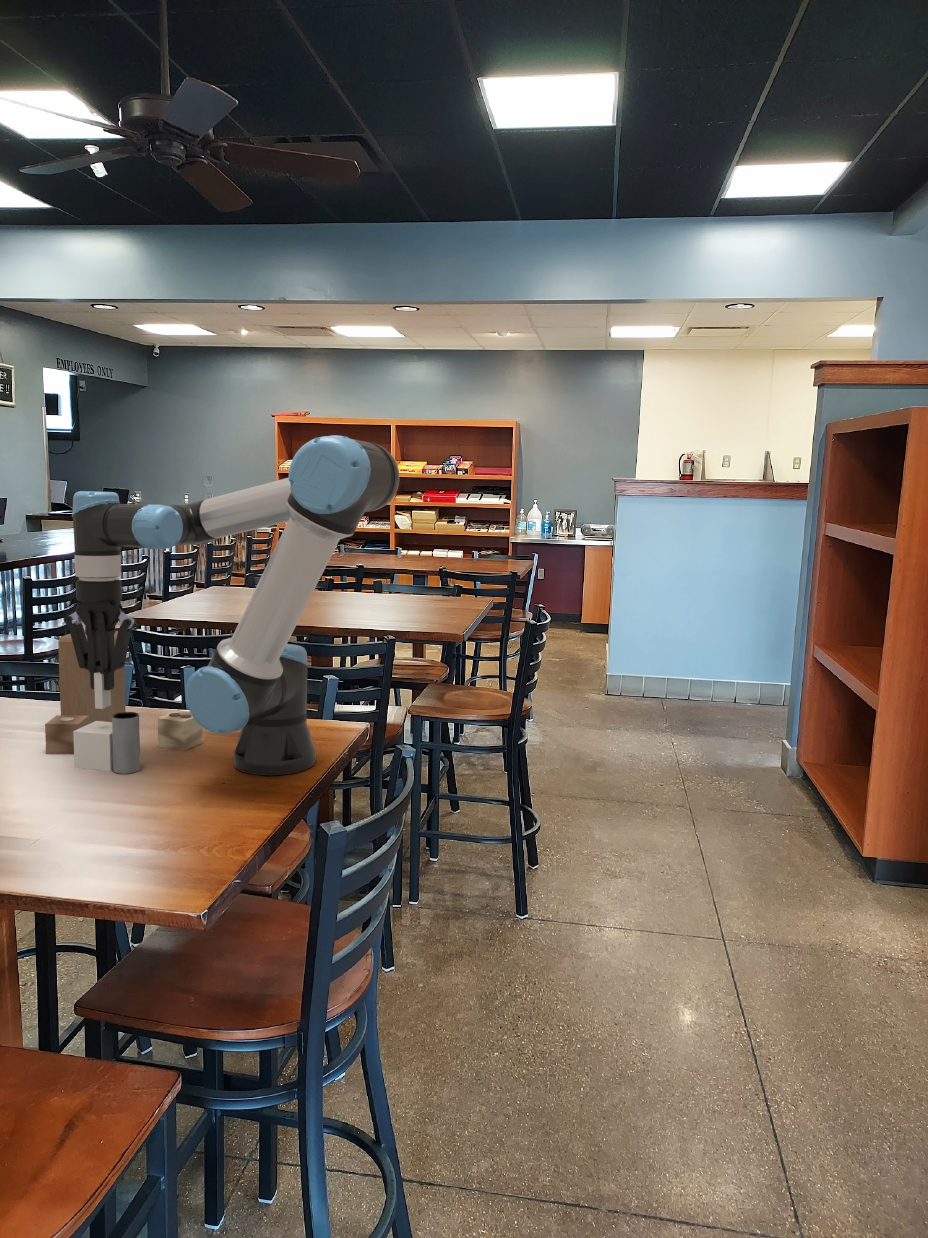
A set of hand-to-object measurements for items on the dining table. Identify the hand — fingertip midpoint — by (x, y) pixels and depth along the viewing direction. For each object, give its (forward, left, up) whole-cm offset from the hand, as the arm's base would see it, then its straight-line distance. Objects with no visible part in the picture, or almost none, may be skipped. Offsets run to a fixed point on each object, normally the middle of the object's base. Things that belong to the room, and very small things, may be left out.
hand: (103, 706), depth 149 cm
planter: (-6, +2, -11) cm, 13 cm away
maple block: (-8, -14, -11) cm, 19 cm away
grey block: (0, 0, -11) cm, 11 cm away
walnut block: (+11, -6, -11) cm, 17 cm away
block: (+15, -22, -11) cm, 29 cm away
